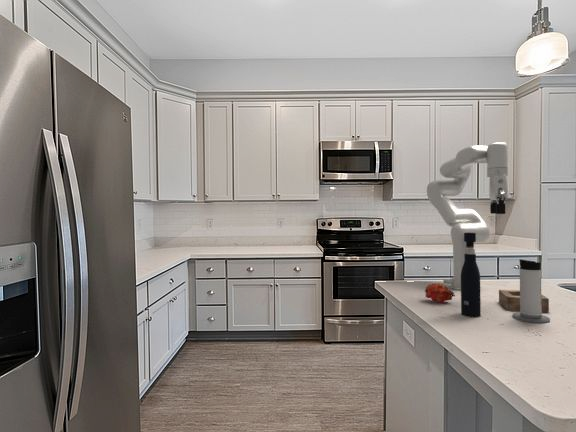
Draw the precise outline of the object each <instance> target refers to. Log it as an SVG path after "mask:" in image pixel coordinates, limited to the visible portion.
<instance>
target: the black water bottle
mask: <svg viewBox="0 0 576 432" xmlns="http://www.w3.org/2000/svg"><path fill="white" fill-rule="evenodd" d="M464 242H466V248H474V247H475V243H477V242H476V233H464ZM465 251H466V252H465V253H466V254H464V260H465V261H464V264H463V267H462V271H461V290H460V309H461V310H460V314H461V315H462V316H463V317H467V318H479V317H481V316H482V315H481V314H482V313H481V312H482V311H481V310H482V309H481V274H480V269H479V266H478V264H477V255H476V250H475V248H474V249H465Z"/></svg>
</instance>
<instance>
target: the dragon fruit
mask: <svg viewBox="0 0 576 432" xmlns="http://www.w3.org/2000/svg"><path fill="white" fill-rule="evenodd" d="M424 292H425V298H426V299H427V298H428V299H431V300H432V302H433V303H436V302H438V303H441V304H448V302H447V301H452V298H453V297H456V295H455V293H454V292H453V291H452V290H451V289H449V288H448V287H447V286H445V285H444V283H443V284H441V283H436V282H435V283H433V282H432V283H431V284H428V285H427V286H426V287H425V289H424Z"/></svg>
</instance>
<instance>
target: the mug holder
mask: <svg viewBox="0 0 576 432" xmlns="http://www.w3.org/2000/svg"><path fill="white" fill-rule="evenodd" d="M549 300H550V299H549V298H548V297H547V296H546V295H544V294H542V293H541V309H542V312H541V313H550V312H549V311H550V306H549V305H550V303H549V302H550V301H549ZM498 302H499V303H500V304H501V305H502V307H504V308H505V310H507V311H517V312H520V311H521V310H520V290H514V289H513V290H511V289H498Z"/></svg>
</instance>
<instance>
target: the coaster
mask: <svg viewBox="0 0 576 432" xmlns="http://www.w3.org/2000/svg"><path fill="white" fill-rule="evenodd" d="M511 316H512V318H513V319H514V320H516V321H521V322H525V323H531V324H547V323H550V322H551V318H550V317H549V316H546V315H544V314H542V317H541V318H539V319H531V318H526V317H523V316H521V315H520V311H517V312H514V313H512V314H511Z"/></svg>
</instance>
